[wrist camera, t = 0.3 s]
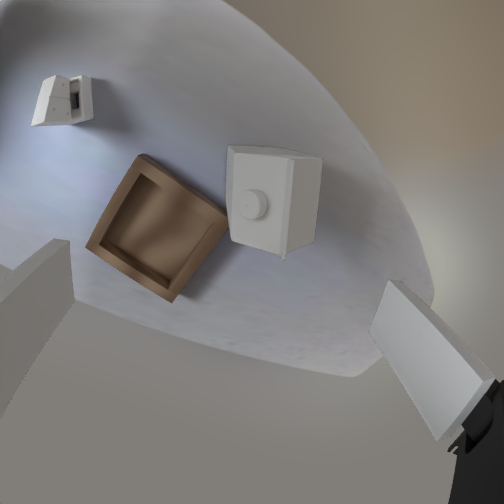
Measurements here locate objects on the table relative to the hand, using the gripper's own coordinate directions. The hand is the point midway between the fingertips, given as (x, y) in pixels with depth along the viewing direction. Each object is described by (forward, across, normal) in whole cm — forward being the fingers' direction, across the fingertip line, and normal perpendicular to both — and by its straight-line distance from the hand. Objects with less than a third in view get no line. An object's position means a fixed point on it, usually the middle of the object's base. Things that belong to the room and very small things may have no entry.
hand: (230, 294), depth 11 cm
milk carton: (+29, +4, +2) cm, 29 cm away
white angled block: (+28, -21, +9) cm, 36 cm away
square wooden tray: (+28, -8, -7) cm, 30 cm away
